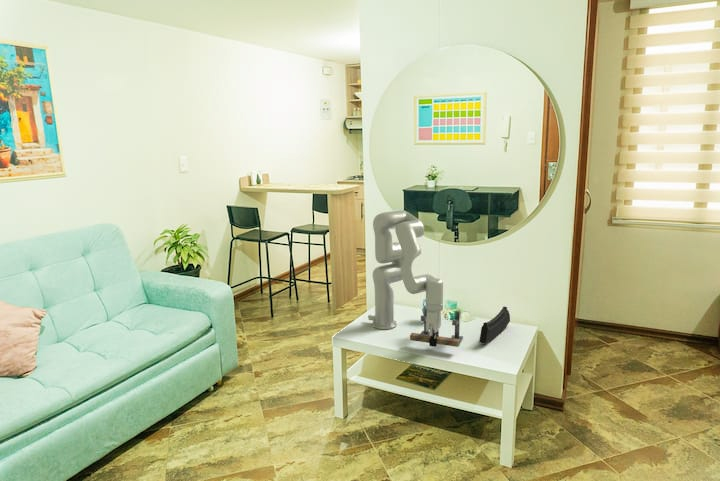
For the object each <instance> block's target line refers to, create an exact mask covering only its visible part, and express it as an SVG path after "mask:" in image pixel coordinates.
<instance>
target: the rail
mask: <svg viewBox="0 0 720 481" xmlns="http://www.w3.org/2000/svg"><path fill="white" fill-rule="evenodd" d="M436 338H437V345H442V346H449V347H456V348H458V347H459V346H460V345H459V339H455V338H451V337H449V336H448V337H447V336H446V337H445V336H436ZM409 341H413V342H420V343H428V344H429V335H425V334H420V333H416V332H411V333H410V335H409Z"/></svg>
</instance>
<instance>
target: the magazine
mask: <svg viewBox="0 0 720 481" xmlns="http://www.w3.org/2000/svg"><path fill="white" fill-rule="evenodd" d="M510 322H511V315H510V311H509V310H508V307H507V306H503V307H502V309H501V310H500V311H499V312H498V313H497V314H496V316H494V317H492V318H491V319H490V320H489V321H486V322H483V323H482V326H481V328H480V334H479V335H480V336H479V343H480V344H483V345H486V344H488V343H490V342H491V341H493V340H495V339H496V338H497V337H499V335H500V334H502V332H503V331H504V330H505V328H507V326H508V324H510Z"/></svg>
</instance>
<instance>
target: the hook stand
mask: <svg viewBox="0 0 720 481" xmlns="http://www.w3.org/2000/svg"><path fill="white" fill-rule="evenodd" d="M426 316H427V310H426V307H425V308H424V316H423V314H422V315H420V322H423V323H424V324H423V326H424V327H423V330H422V331H421V332H420V333H419V334H425V335H429V331H430V330H429V331H428V332H426ZM451 322H452V323H451V325H452V326H454V334H452V335H451V337H450V338H455V339H459V346H460V345H461V343H462V342H463V340H464V336H462V335H460V328H461V325H460V324H461V323H460V322H461V311H460V310H454V319H452V320H451Z"/></svg>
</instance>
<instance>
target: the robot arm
mask: <svg viewBox="0 0 720 481" xmlns="http://www.w3.org/2000/svg"><path fill="white" fill-rule="evenodd" d="M372 227H373V232H374V254H375V255H374V256H375V260H376V262H377V263H378V264H383V265H379V266H376V267H375V268H374V269H373V271H372V280H373V284H374V315H372V314H368V316H367V318H368V320H369V321H372V323H371V324H372V327H373V328H375V329H378V330H391V329H394V328H396V327H397V326H398V325H397V324H398V323H397V321H396V320H395V319H394V316H395V314H394V313H395V312H394V310H395V309H394V305H395V304H394V303H395V302H394V289H393V288H392V287H391V285H390V284H392V283H397V282H400V281H402V282H403V286H404V288H405V289H406V291H407V292H408V293H409V294H411V295H415V294H421V293H424V292H425V299H426V302H425V305H426V310H427V316H426V332H428V331H429V343H428V345H429V347H434V348H436V347H437V345H438V344H437V338H436V336H439V333H440V328H441V327H442V311H443V309H444V282H443V280H442V279H440V278H437V277H436V278H435V277H434V276H433V275H431V274H428V273H426V274H421V275H415V276H414V274H413V270H412V265H413V262H414V261H415V260H416V259H417V258H418V257H419V256H420V255H421V254H422V248H421V245H420V243H419V240H418V238H421V237H423V235H425V226H424V224H423V223H422V221H421V220H420V219H419V218H417V217H416V216H414V215H413V214H411V213H410V212H408V211H406V210H401V209H400V210H394V211H385V212H381V213H378V214H377V215H376V216H374V218H373V220H372ZM390 230H395V235H396V238H397V240H398V242H397V241H396V242H394V241H393V235H392V233H391V231H390ZM387 263H390V264H387Z"/></svg>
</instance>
